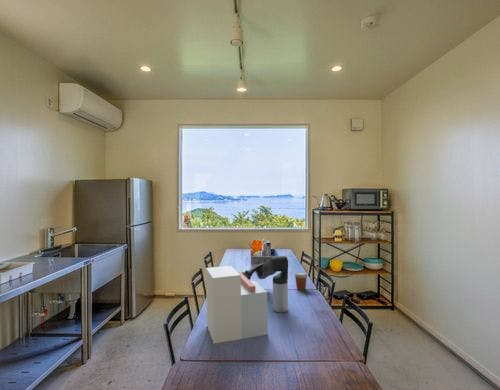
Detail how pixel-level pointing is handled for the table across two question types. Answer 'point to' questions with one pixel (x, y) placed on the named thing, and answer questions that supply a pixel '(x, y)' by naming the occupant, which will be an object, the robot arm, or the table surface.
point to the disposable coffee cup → (301, 280)
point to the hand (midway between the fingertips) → (240, 272)
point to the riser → (234, 306)
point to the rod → (247, 283)
